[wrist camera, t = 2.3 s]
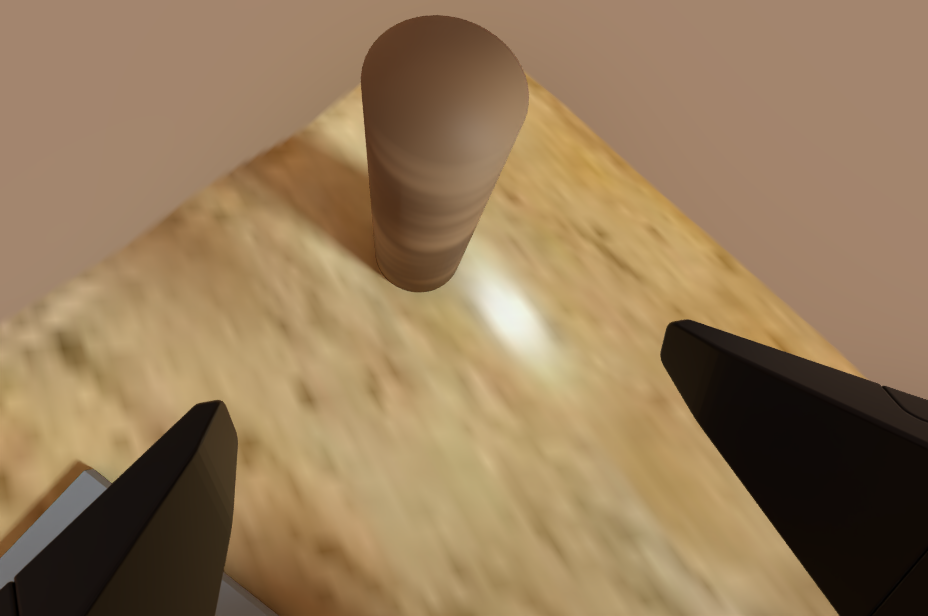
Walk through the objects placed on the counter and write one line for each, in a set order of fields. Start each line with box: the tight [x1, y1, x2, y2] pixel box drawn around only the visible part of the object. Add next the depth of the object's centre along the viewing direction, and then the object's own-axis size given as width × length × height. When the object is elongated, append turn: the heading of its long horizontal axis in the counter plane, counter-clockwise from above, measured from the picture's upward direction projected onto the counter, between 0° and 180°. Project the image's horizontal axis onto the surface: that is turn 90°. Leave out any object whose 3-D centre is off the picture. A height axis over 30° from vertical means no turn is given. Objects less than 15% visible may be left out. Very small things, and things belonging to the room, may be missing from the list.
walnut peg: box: [361, 15, 529, 292], centre depth 18 cm, size 4×4×12 cm
